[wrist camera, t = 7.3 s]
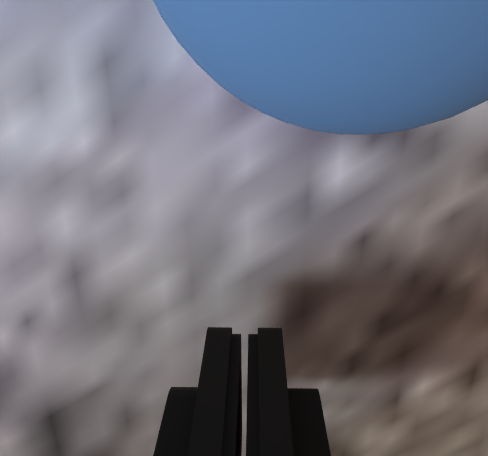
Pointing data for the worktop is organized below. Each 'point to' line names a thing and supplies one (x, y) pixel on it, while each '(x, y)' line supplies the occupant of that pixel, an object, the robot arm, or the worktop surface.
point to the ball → (341, 58)
